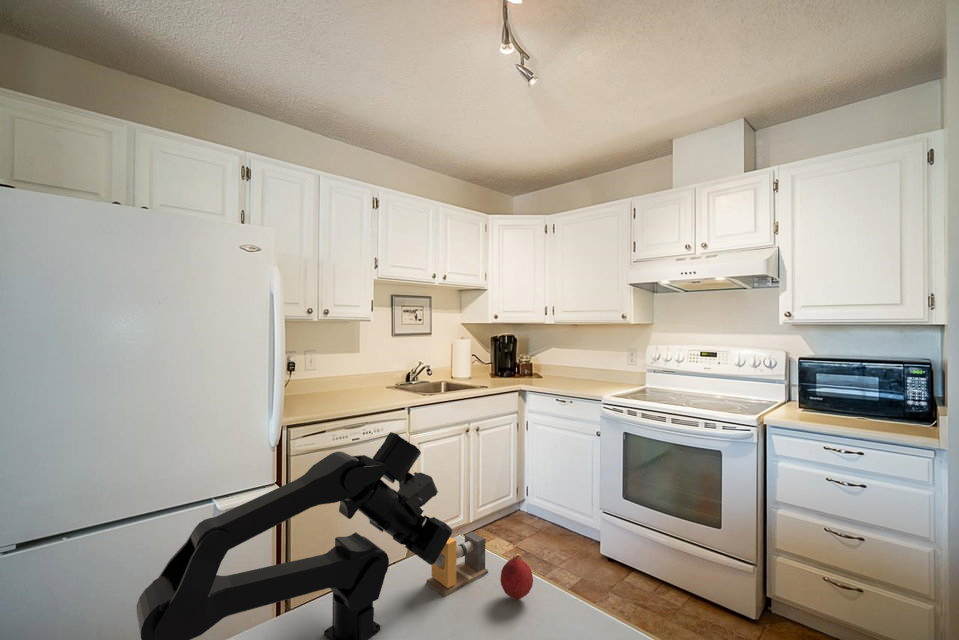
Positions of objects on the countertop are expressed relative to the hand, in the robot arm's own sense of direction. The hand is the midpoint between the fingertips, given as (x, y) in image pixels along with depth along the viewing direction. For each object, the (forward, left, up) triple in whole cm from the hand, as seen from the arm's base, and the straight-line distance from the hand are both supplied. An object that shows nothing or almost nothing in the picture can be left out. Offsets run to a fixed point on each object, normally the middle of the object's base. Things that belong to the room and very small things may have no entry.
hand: (434, 547), depth 79 cm
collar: (0, +2, -7) cm, 7 cm away
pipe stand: (+1, +6, -8) cm, 10 cm away
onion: (+14, +7, -8) cm, 17 cm away
